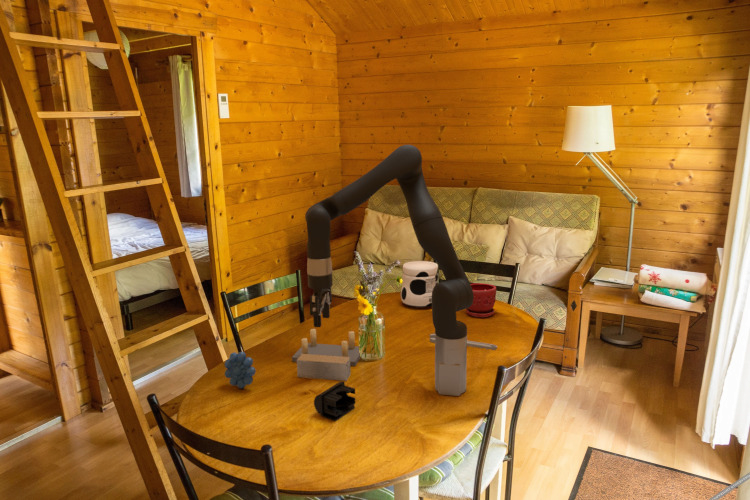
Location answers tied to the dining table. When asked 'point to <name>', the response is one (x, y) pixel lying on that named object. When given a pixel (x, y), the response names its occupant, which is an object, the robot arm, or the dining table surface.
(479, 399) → the dining table surface
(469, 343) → the adjustable wrench
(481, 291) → the plant pot
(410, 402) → the dining table surface
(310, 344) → the peg rack
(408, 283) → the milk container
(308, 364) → the steel bar
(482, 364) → the dining table surface
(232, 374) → the grapes
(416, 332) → the dining table surface
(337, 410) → the end cap
